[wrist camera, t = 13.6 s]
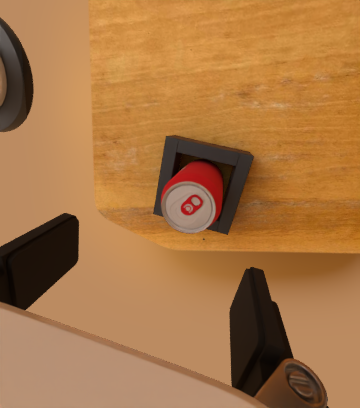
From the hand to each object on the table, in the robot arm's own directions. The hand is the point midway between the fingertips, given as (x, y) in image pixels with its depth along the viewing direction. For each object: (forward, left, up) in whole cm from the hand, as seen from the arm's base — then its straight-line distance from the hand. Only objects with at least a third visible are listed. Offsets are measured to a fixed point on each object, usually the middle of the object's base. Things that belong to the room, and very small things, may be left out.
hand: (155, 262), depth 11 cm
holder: (0, 0, -21) cm, 21 cm away
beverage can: (0, 0, -21) cm, 21 cm away
